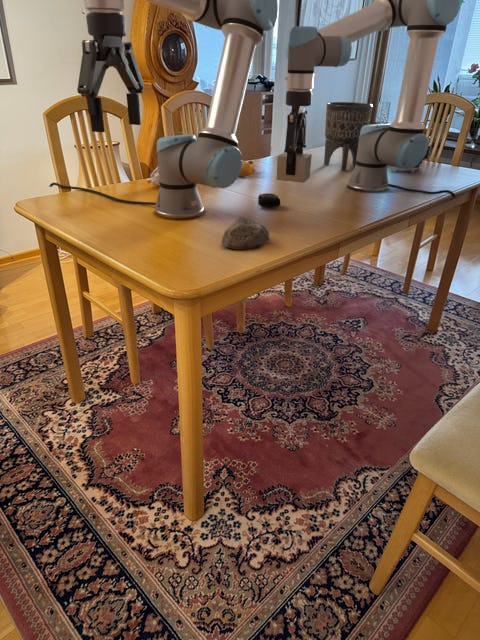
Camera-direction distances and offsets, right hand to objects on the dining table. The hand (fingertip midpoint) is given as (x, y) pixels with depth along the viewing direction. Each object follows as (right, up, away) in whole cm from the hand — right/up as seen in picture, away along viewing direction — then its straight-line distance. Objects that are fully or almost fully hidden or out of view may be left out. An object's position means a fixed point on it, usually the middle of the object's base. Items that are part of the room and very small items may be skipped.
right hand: (293, 172), depth 142 cm
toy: (-16, +15, +51) cm, 55 cm away
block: (0, -2, +1) cm, 2 cm away
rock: (-15, -26, -20) cm, 36 cm away
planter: (+30, +25, +69) cm, 79 cm away
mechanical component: (+60, +24, +69) cm, 95 cm away
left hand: (-44, -4, -41) cm, 60 cm away
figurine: (-46, +5, +32) cm, 56 cm away
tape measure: (-7, -9, +10) cm, 15 cm away
